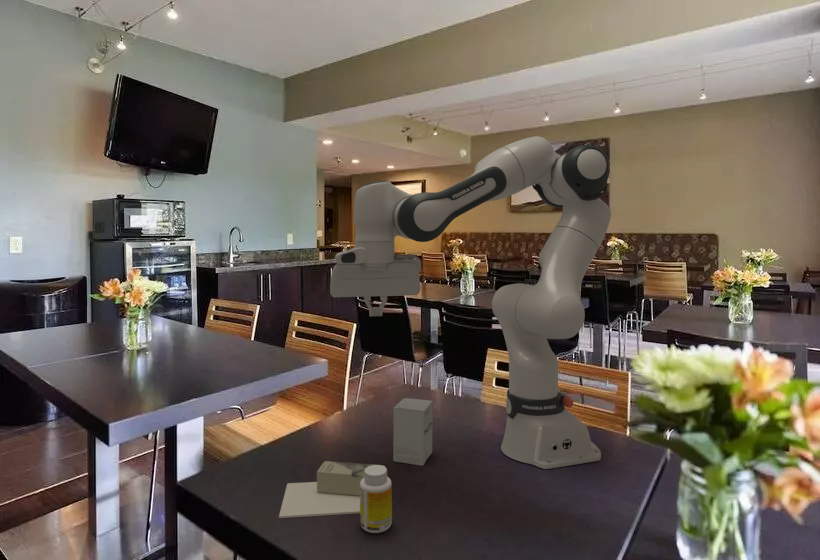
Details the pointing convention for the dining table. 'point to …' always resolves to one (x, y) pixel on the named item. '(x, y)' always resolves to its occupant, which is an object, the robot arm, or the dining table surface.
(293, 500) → the mat
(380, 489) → the supplement bottle
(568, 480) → the dining table surface
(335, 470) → the box
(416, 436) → the supplement box
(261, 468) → the dining table surface
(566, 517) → the dining table surface
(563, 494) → the dining table surface
